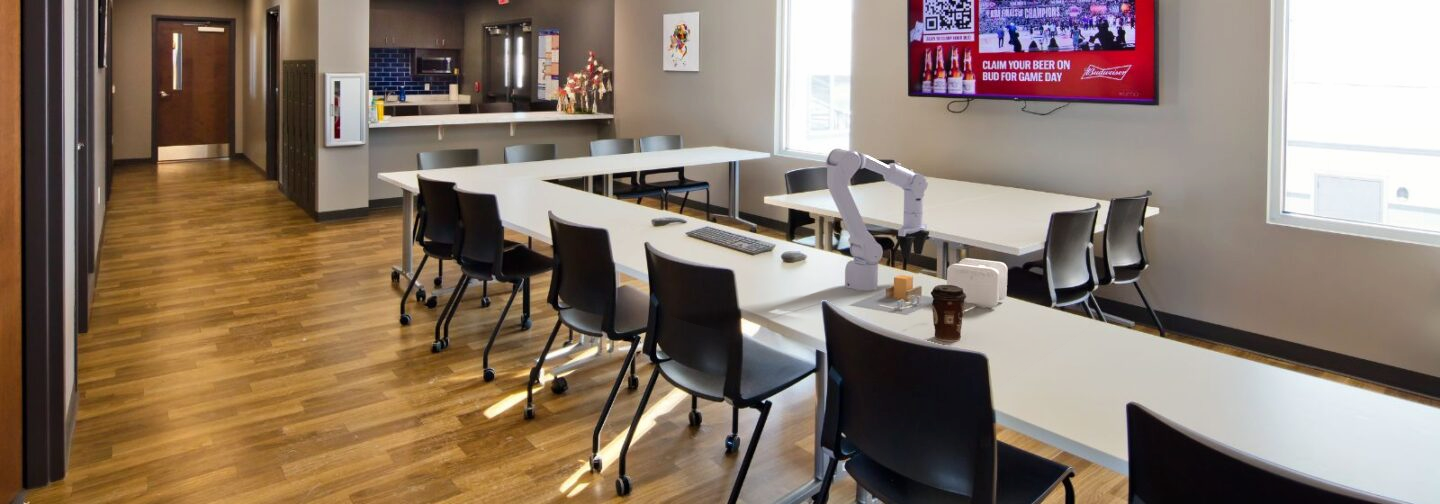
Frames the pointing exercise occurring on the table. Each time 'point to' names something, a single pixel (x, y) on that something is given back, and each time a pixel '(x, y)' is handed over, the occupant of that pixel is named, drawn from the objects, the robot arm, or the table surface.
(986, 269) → the cable organizer
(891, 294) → the end holder
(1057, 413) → the table surface
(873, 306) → the mat
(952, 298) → the coffee cup
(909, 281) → the orange rectangular block
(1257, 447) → the table surface
